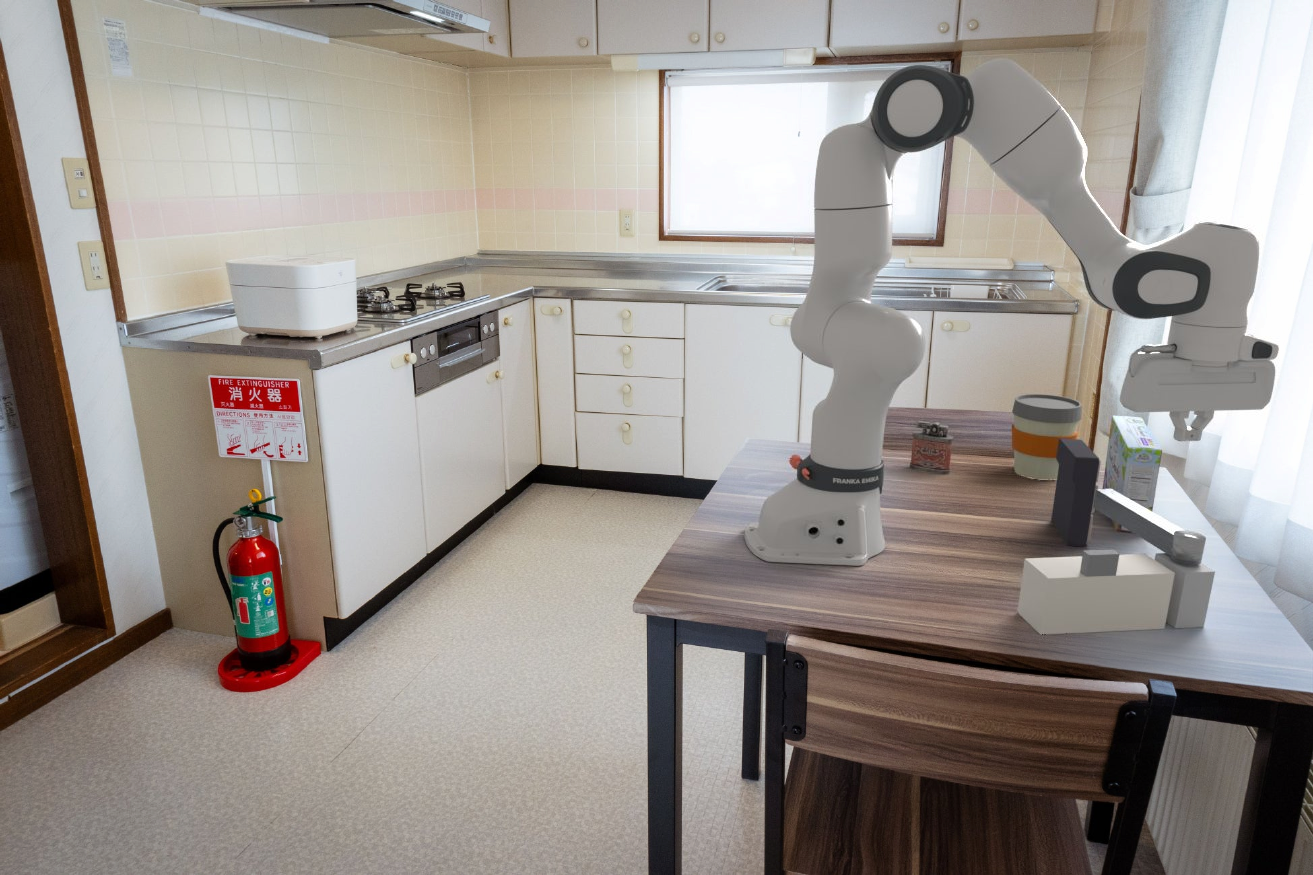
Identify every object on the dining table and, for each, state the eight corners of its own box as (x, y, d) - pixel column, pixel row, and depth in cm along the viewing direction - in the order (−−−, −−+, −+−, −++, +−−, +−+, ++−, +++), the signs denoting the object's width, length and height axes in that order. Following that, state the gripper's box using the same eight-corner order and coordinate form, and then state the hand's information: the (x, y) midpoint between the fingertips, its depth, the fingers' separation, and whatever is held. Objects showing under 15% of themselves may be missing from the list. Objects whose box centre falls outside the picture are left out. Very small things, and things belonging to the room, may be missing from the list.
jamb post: (1175, 628, 112) (1185, 572, 110) (1146, 606, 118) (1155, 553, 116) (1203, 626, 113) (1215, 571, 111) (1173, 605, 119) (1183, 552, 116)
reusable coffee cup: (1004, 460, 180) (1013, 391, 176) (1070, 467, 176) (1081, 396, 172) (1004, 479, 169) (1013, 405, 165) (1074, 487, 165) (1086, 411, 160)
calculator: (1091, 547, 137) (1105, 459, 133) (1062, 545, 138) (1075, 457, 134) (1073, 522, 148) (1086, 439, 143) (1047, 520, 148) (1058, 437, 144)
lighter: (951, 471, 174) (956, 423, 171) (947, 475, 171) (952, 427, 168) (912, 464, 178) (916, 418, 175) (907, 468, 175) (911, 421, 172)
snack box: (1098, 490, 163) (1110, 414, 159) (1131, 494, 161) (1144, 416, 157) (1113, 531, 144) (1127, 445, 140) (1151, 536, 142) (1166, 449, 138)
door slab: (1040, 634, 111) (1051, 556, 108) (1017, 612, 117) (1027, 537, 113) (1164, 628, 112) (1179, 551, 109) (1135, 607, 118) (1148, 533, 115)
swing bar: (1207, 564, 112) (1212, 540, 111) (1181, 565, 111) (1186, 541, 110) (1111, 506, 131) (1115, 486, 130) (1089, 507, 131) (1092, 486, 130)
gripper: (1147, 349, 114) (1130, 448, 118) (1291, 346, 115) (1269, 445, 119) (1118, 340, 120) (1103, 435, 124) (1255, 338, 121) (1236, 432, 125)
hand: (1186, 440), depth 122 cm, fingers closed
